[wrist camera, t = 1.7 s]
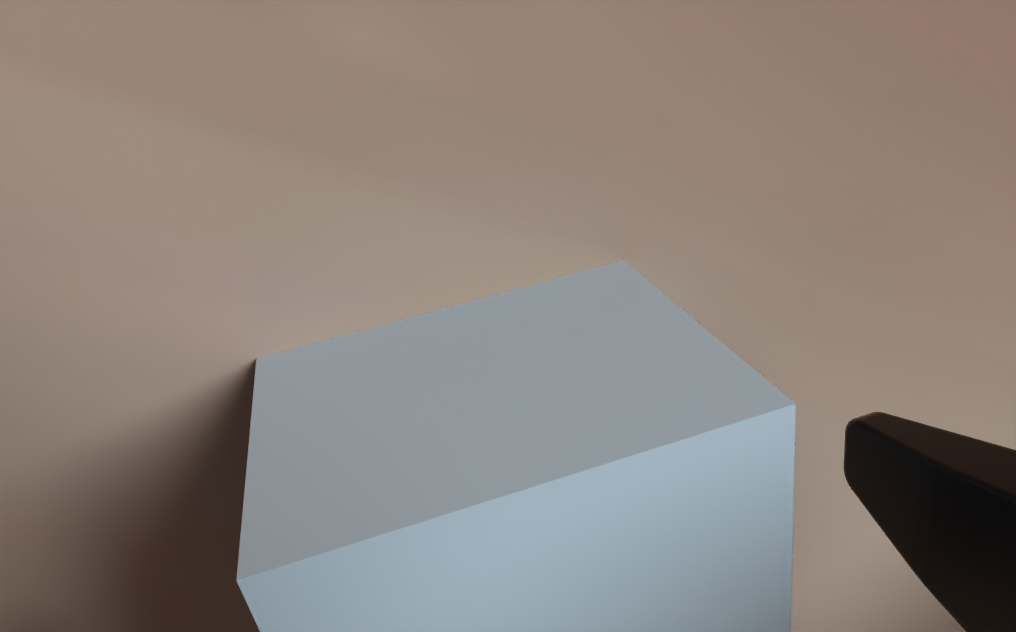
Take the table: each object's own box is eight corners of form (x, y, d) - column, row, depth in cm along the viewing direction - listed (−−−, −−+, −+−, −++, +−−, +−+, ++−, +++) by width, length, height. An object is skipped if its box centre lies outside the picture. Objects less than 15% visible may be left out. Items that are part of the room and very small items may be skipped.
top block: (620, 256, 10) (796, 404, 7) (646, 526, 12) (788, 742, 9) (256, 353, 9) (236, 581, 6) (356, 623, 12) (385, 903, 8)
